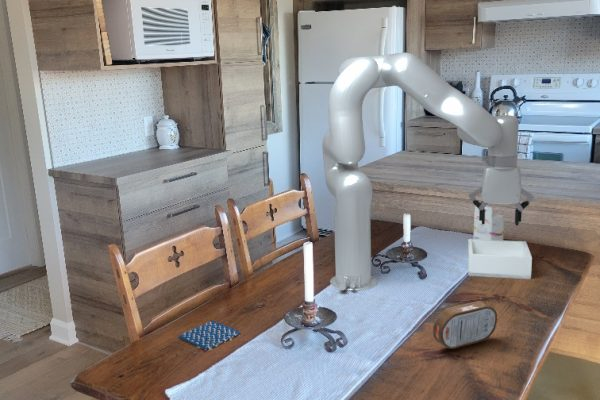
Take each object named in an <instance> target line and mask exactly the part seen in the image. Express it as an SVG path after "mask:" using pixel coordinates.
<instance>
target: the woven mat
mask: <svg viewBox="0 0 600 400" xmlns="http://www.w3.org/2000/svg"><path fill="white" fill-rule="evenodd" d="M195 327H196V326H195ZM241 335H242V333H241V331H239V329H234V328H233V327H229V326H228V325H225V324H224V323H221V324H220V322H215V320H211V321H209V322H206V323H205V324H201V325H200V326H198V327H196V328H192V329H190V330H189V331H185V332H184V333H182V334H180V335H178V338H179V339H182V340H183V341H186V342H187V343H190V344H192V345H195V346H196V348H197V349H198V350H202V352H203V353H206V352H209V351H212V350H213V348H216V347H218V346H219V347H221V345H222V344H226V343H227V341H232V340H233V339H235V338H237V337H241Z"/></svg>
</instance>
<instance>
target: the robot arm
mask: <svg viewBox="0 0 600 400" xmlns="http://www.w3.org/2000/svg"><path fill="white" fill-rule="evenodd" d="M337 73H338V74H337V78H336V80H335V81H334V83H333V85H332V87H331V89H330V93H329V96H328V101H327V103H328V104H327V105H328V108H327V109H328V128H329V129H328V130H327V131H326V132H325V133H324V136H323V139H322V145H321V146H322V147H321V148H322V160H323V167H324V177H325V182H326V187H327V189H328V191H329V192H330V194H331V195H332V196H333V197H334V198H335V206H334V220H333V222H334V250H335V251H334V256H335V257H334V258H335V259H334V261H335V262H334V263H335V275H334V276H332V278H331V279H329V282H330V284H331V285H332V286H333V287H334V288H337V289H339V290H340V291H351V292H359V291H367V290H370V289H373V288H374V287H376V286H377V284H378V280H377V278H375V276H373V275H372V246H371V245H372V238H371V237H372V235H371V234H372V231H371V227H372V225H371V221H372V220H371V218H372V217H371V215H372V214H371V213H372V205H373V204H372V203H373V194H374V193H373V192H374V190H373V186H372V182H371V179H370V178H369V177H368V176H367V175H366V173H364V172H363V171H361V170H359V162H361V160H362V159H363V158H364V156H365V153H366V141H365V133H364V122H363V103H364V101H365V98H366V96H367V94H368V93H369V92H370V91H371V90H372V89H378V88H379V89H380V88H388V87H398V88H400V90H402V91H404V93H405V94H407V95H408V96H410V98H412V99H413V100H414V101H415V102H417V103H418V104H419V105H420V106H421V107H422V108H423V109H424V110H426V111H427V112H429V113H430V114H432V115H434V116H436V117H438V118H441V119H443V120H446V121H448V122H450V123H452V124H454V125H455V126H456V133H457V136H458V138H459V139H460V140H461V141H463V142H464V143H466V144H470V145H473V146H477V147H481V148H487V155H486V156H485V157H482V158H481V162H482V163H485V164H487V165H485V166H484V168H483V175H482V179H481V180H482V181H481V186H480V187H479V188H477V189H475V190H473V191H471V192H470V193H469V194H468V198H469V199H470V200H471V202H472V203H473V205H474V207H475V206H476V207H477V208H478V209H479V221H482V224H485V211H486V210H485V209H484V207H485V206H487V205H489V204H490V205H514V206H515V207H516V208H515V211H514V224H515V226H519V224H520V223H522V212H523V211H524V209H526V208H527V207H528V206H529V205H530V203H531V202H532V201H533V200H534V197H535V196H534V194H532V193H531V192H529V191H528V190H526V189H525V188H523V187H522V173H521V168H520V166H519V165H518V148H519V146H518V144H519V125H520V123H519V118H518V117H517V116H515V115H507V114H506V115H505V114H504V115H503V114H502V115H501V114H500V115H492V114H491V113H490V112H489V111H488V110H486V108H484V107H483V106H482V105H480V103H477V102H476V101H474V100H473V99H471V98H470V97H469V96H467V95H465V94H464V93H463V92H462V91H460V90H458V89H457V88H455V87H453V86H452V85H451V84H449V83H448V82H447V81H446V80H444V79H443V78H442V77H441V76H440V75H439V74H437V72H436V71H434V70H433V69H432V68H431V67H430V66H428V64H426V63H425V62H424V61H423V60H422V59H420V58H419V57H418V56H417V55H415V54H413V53H410V52H398V53H396V52H395V53H388V54H383V55H382V54H381V55H372V56H357V57H350V58H348V59H346V60H344V61H343V62H341V65H340V66H339V68H338V72H337ZM480 194H481V202H480V201H479V200H478V199H477V198H476V197H477V196H478V195H480ZM522 195H523V196H525V197H526V198H525V200H523V201H522ZM521 201H522V202H521Z"/></svg>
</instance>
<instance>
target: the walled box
mask: <svg viewBox="0 0 600 400" xmlns="http://www.w3.org/2000/svg"><path fill="white" fill-rule="evenodd" d="M467 240H468V241H467V270H468V271H467V272H468V273H467V274H468V277H482V278H483V277H484V278H485V277H487V278H498V279H499V278H502V279H519V280H520V279H521V280H531V279H532V267H533V266H532V264H533V262H532V261H533V257H532V254H531V251H530V249H529V246H528V243H527V241H525V240H523V241H522V240H505V239H503V240H480V239H473V238H468V239H467Z"/></svg>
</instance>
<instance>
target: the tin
mask: <svg viewBox="0 0 600 400" xmlns="http://www.w3.org/2000/svg"><path fill="white" fill-rule="evenodd" d="M497 323H498V313H497V311H496V309H495V308H494V307H492V306H491V305H489V304H488V303H487V302H485V301H482V300H478V301H473V302H468V303H465V304H461V305H455V306H452V307H447V308H446V309H444V310H443V311H441V312H440V313H439V315H438V316H437V317H436V319H435V321H434V323H433V327H432V334H433V335H432V336H433V338H434V340H435V341H436V342H437V343H438V344H439V345H441V346H443V347H445V348H447V349H452V350H453V349H458V348H462V347H466V346H468V345H472V344H478V343H479V342H480V343H482V342H484V341H486V340H488V339H489V338H490V337H491V336H492V335H493V333H494V331H495V330H496V328H497Z"/></svg>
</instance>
